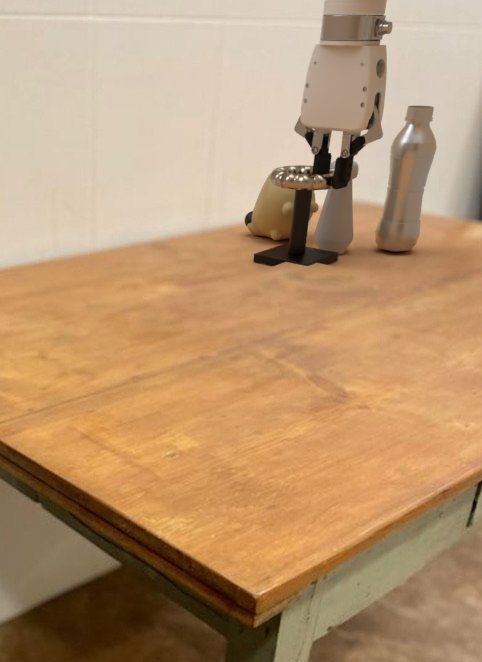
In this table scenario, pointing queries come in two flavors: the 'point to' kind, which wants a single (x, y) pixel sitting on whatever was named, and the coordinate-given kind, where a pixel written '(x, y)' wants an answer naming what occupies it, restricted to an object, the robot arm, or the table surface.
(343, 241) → the salt shaker
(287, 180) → the beaded metal ring
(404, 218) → the silver metal bottle
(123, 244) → the table surface
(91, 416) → the table surface
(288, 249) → the stand
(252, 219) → the toy pig
